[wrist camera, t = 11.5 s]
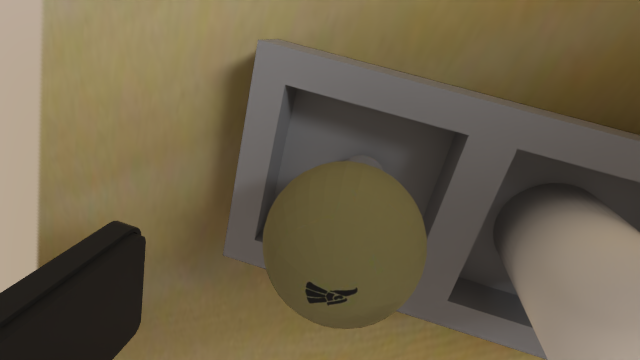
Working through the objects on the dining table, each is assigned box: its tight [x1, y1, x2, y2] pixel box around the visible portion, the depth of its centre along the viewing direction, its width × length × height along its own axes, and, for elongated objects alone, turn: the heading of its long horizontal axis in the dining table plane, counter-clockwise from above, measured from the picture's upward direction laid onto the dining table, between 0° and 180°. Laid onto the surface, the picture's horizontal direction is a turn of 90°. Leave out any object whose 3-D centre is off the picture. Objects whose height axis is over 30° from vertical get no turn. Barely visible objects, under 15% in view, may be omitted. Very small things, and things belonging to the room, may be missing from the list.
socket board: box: [223, 39, 640, 360], centre depth 19 cm, size 21×11×3 cm, turn 76°
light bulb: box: [263, 155, 427, 329], centre depth 15 cm, size 6×6×10 cm
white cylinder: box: [493, 183, 640, 360], centre depth 15 cm, size 5×5×8 cm
